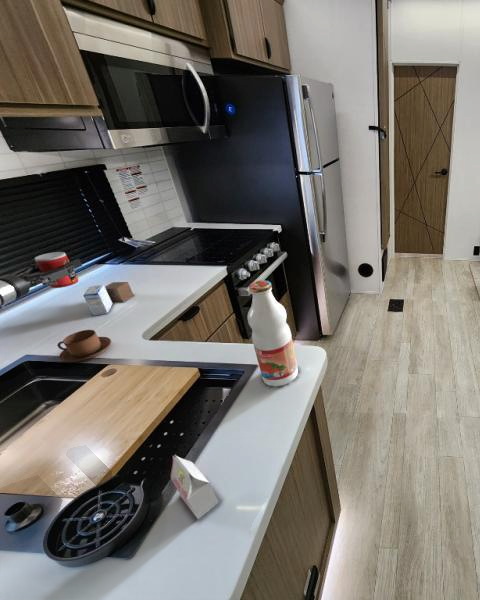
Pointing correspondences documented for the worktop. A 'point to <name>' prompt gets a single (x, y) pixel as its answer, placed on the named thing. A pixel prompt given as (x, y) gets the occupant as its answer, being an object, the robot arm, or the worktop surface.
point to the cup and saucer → (83, 346)
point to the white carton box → (193, 487)
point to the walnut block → (119, 291)
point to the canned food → (53, 262)
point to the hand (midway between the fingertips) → (67, 262)
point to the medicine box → (98, 300)
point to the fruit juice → (271, 336)
